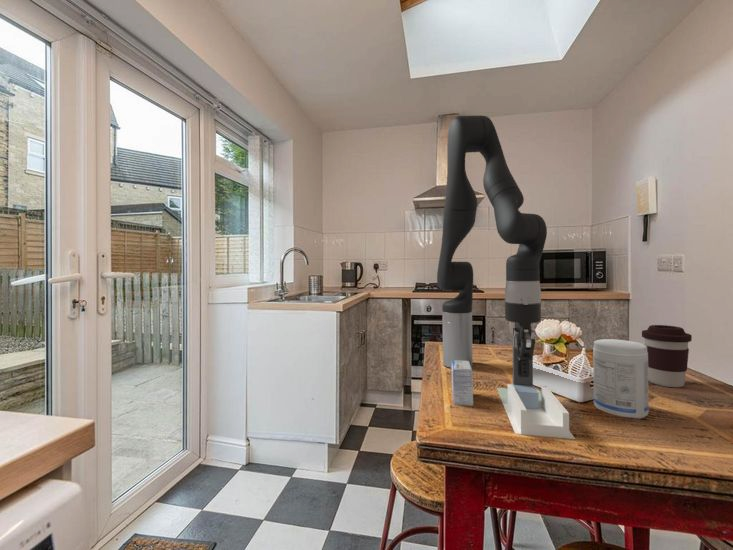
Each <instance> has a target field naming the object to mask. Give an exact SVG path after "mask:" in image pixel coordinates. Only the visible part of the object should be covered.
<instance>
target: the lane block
mask: <svg viewBox="0 0 733 550" xmlns="http://www.w3.org/2000/svg"><path fill="white" fill-rule="evenodd" d="M524 354H527V353H524ZM533 363H534V358H533V359H532V360H530V361H529V377H520V376H519V375H518V350H517V349H516V348H515V347H514V346H512V382H511V384H512V385H513V386H514V388H515V390H516V392H517V394H518V395H519V397H520V399H521V401H522V403H523V404H524V406H525V408H531V409H539V393H538V392H537V390H538V389H536V386H534V381H533V380H534V373H533V371H534V369H533V368H534V364H533Z"/></svg>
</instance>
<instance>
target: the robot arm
mask: <svg viewBox="0 0 733 550" xmlns="http://www.w3.org/2000/svg"><path fill="white" fill-rule="evenodd" d="M446 147H447V151H446V153H447V158H446V161H447V163H446V164H447V165H446V166H447V168H446V171H447V173H446V188H445V199H444V208H443V217H442V220H443V221H442V235H441V236H442V237H441V246H440V247H441V248H440V253H439V258H438V266H437V271H436V272H437V273H436V282H437V283H436V284H437V286H438V288H439V290H441V291H459V293H458V295H455V297H454V298H451V299H449V300H446V301H444V302H443V303H442V310H441V311H442V313H441V314H442V319H441V320H442V364H443V366H444V367H448V368H450V369H451V363H452V361H456V360H460V361H469V362H470V365H471V368H472V367H473V366H474V365H473V297H474V296H473V294H474V293H473V291H474V268H473V265H472V263H471V262H469V261H453V258H454V255H455V253H456V250H457V249H458V247H459V246H460V244H461V243H462V242H463V241H464V240H465V239H466V237H467V236H468V234H469V233H470V232H471V230H472V229H473V227H475V226H474V225H475V223H476V217H477V216H476V215H477V208H478V199H477V195H476V193H475V191H474V189H473V187H472V184H471V182H470V180H469V178H468V175H467V171H466V154H467V153H480V154H481V157H483V158H484V161H485V167H484V174H483V180H482V181H483V189H484V191H485V194H486V196H487V198H488V200H489V202H490V204H491V206H492V207H493V212H494V219H495V225H496V230H497V233H498V235H499V237H500V238H501V239H502V240H503V241H504V242H505V243H507V244H511V245H518V248H517V251H516V254H514V255H510V256H508V257H507V258H506V263H505V264H506V265H505V280H506V282H505V289H504V312H505V313H504V318H505V320H506V321H508V322H510V323H514V327H511V334H512V345H513V347H515V348H516V349H517V350H518V375H519V376H520V377H529V361H530V360H532V359H533V360H534V357H533V356H534V351H535V346H536V340H535V338H534V337H535V333H534V330H533V329H532V325H531V324H536V323H540V322H541V320H542V300H541V299H542V295H541V294H542V289H541V283H540V282H541V281H540V280H541V279H540V277H541V276H540V275H541V274H540V262H541V258H542V255H543V251H544V248H545V245H546V240H547V233H548V231H547V230H548V227H547V224H546V221H545V219H544V218H543V217H542V216H541V215H539V214H537V213H524V212H523V213H522V212H521V211H520V210H519V209H520V208H521V207H522V206H523V204H524V200H525V198H524V195H523V193H522V191H521V189H520V187H519V185H518V183H517V182H516V180H515V178H514V176H513V175H512V172H511V171H510V168H509V166H508V163H507V161H506V157H505V155H504V154H505V153H504V151H503V148H502V144H501V142H500V139H499V135H498V133H497V129H496V126H495V124H494V123H493V121H492V120H491V118H490V117H489V116H486V115H457V116H455V117H454V118H452V120H451V121H450V124H449V127H448V133H447V146H446ZM524 353H527V354H524Z"/></svg>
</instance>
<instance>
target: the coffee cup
mask: <svg viewBox="0 0 733 550" xmlns="http://www.w3.org/2000/svg"><path fill="white" fill-rule="evenodd" d="M641 337H642V338H644V343H643V344H644V345H646V346H647V352H648V382H650V383H652V384H655V385H657V386H662V387H667V388H683V387H684V386H685V382H686V373H687V371H688V363H689V362H688V361H689V352H690V349H689V343H691V342H692V337H693V335H692V334H690V333H687V332H686V331H685V329H684V328H683V327H680V326H675V325H667V324H652V325H649V326H648V327H647V329H644V330H642V331H641Z"/></svg>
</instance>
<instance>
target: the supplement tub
mask: <svg viewBox="0 0 733 550" xmlns="http://www.w3.org/2000/svg"><path fill="white" fill-rule="evenodd" d="M644 344H645V343H642V342H637V341H632V340H624V339H615V338H614V339H612V338H610V339H609V338H607V339H606V338H605V339H604V338H603V339H597V340H595V341H593V348H592V349H593V351H592V354H593V356H592V359H593V405H594V406H595V408H596V409H599V410H600V411H601V412H602V411H603V412H605V413H608V414H610V415H614V416H618V417H623V418H631V419H632V418H634V419H637V420H640V419H644V418H646V417H647V416H648V414H649V380H648V352H647V346H646V345H644Z"/></svg>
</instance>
